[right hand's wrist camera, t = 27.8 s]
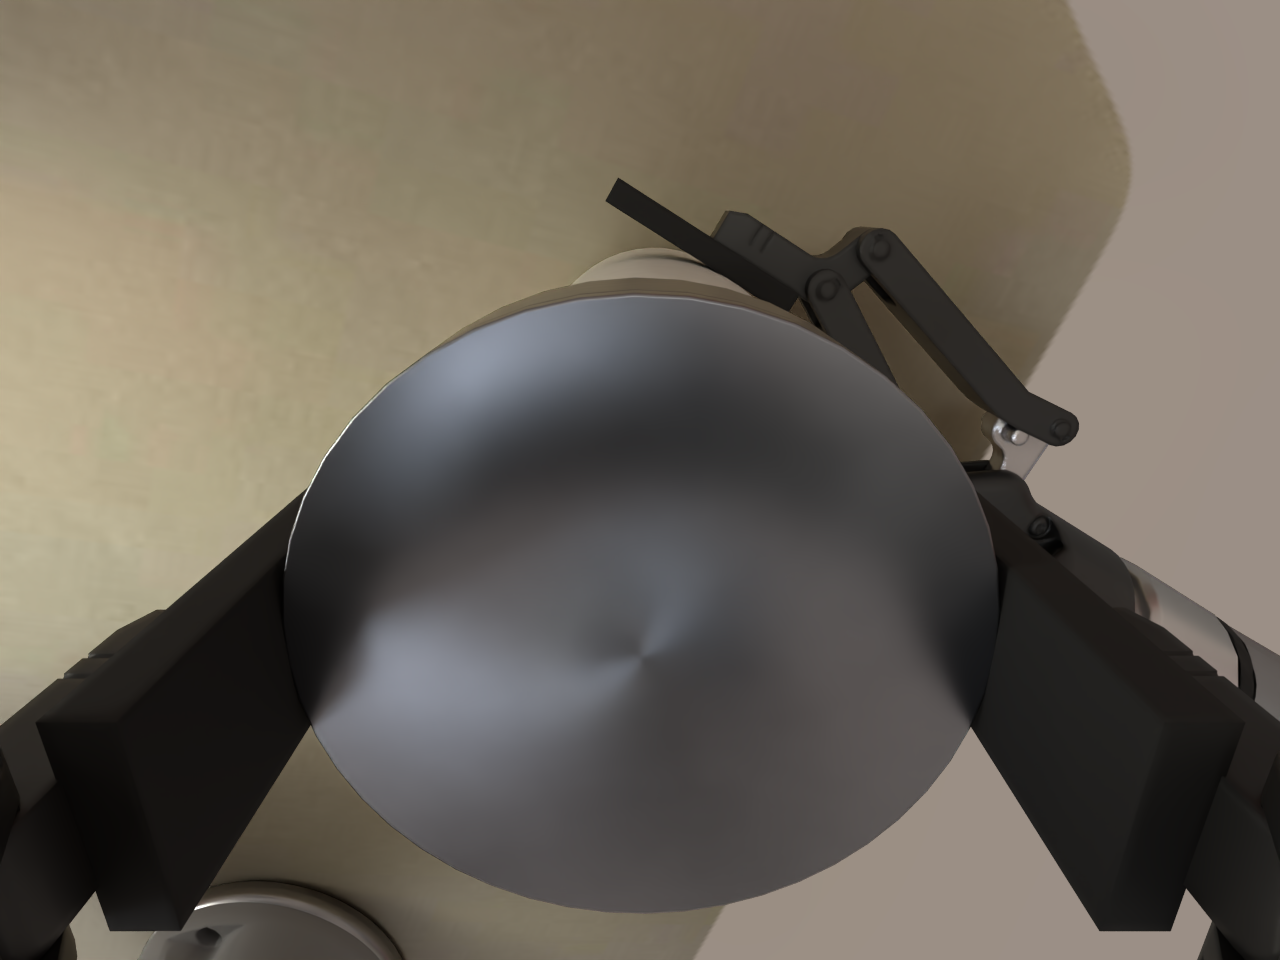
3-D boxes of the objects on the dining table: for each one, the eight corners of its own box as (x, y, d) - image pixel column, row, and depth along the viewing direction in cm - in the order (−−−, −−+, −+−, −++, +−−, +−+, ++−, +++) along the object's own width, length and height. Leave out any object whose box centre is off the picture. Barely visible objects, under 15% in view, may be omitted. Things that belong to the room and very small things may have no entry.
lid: (893, 187, 10) (950, 183, 8) (979, 754, 13) (1033, 842, 11) (227, 385, 11) (143, 422, 9) (465, 866, 14) (439, 965, 12)
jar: (784, 432, 32) (925, 662, 16) (584, 488, 33) (519, 760, 17) (732, 217, 29) (837, 224, 13) (513, 286, 30) (350, 377, 14)
